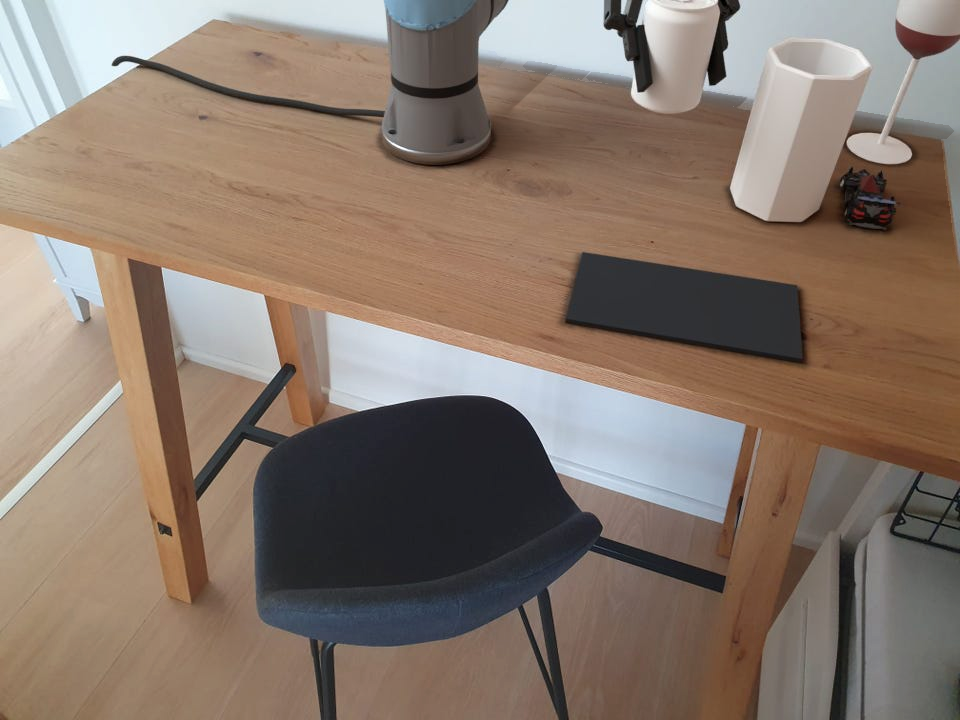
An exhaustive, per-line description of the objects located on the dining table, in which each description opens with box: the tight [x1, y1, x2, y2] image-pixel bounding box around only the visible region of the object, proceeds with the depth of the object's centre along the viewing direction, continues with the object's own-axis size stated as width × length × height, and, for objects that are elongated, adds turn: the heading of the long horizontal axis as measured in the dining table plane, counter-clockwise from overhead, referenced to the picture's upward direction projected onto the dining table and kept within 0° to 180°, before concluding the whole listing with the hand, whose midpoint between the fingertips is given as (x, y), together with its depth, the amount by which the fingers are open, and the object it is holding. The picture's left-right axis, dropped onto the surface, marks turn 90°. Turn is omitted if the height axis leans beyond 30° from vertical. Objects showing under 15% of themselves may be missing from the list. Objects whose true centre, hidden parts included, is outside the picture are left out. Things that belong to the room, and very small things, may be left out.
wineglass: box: [846, 0, 960, 165], centre depth 99 cm, size 9×10×23 cm
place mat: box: [564, 251, 804, 364], centre depth 83 cm, size 24×12×1 cm, turn 76°
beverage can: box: [630, 0, 720, 115], centre depth 87 cm, size 8×8×12 cm
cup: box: [729, 37, 873, 223], centre depth 91 cm, size 11×11×18 cm
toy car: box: [839, 165, 902, 231], centre depth 96 cm, size 6×12×4 cm, turn 166°
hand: (681, 84), depth 86 cm, fingers closed on beverage can, 8 cm apart
